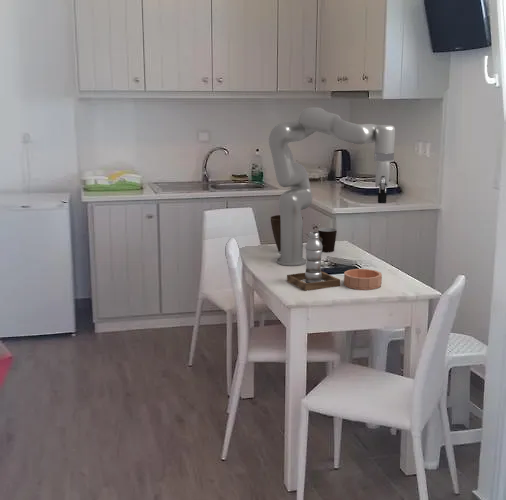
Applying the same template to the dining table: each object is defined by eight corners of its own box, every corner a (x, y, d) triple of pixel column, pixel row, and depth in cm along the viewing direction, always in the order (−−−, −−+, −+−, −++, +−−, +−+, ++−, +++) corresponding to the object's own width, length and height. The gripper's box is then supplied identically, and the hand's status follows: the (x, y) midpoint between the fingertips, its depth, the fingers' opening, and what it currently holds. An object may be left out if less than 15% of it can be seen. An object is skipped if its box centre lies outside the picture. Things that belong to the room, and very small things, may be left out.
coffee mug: (337, 252, 321) (337, 231, 318) (318, 252, 321) (318, 231, 318) (334, 247, 332) (335, 226, 330) (316, 247, 332) (316, 226, 330)
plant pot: (265, 249, 328) (265, 215, 325) (294, 246, 334) (294, 213, 330) (278, 256, 315) (278, 221, 311) (308, 253, 320) (308, 218, 316)
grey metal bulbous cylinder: (303, 281, 274) (303, 231, 269) (320, 281, 274) (321, 231, 270) (305, 286, 267) (306, 234, 263) (323, 285, 268) (324, 234, 263)
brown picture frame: (287, 281, 274) (287, 274, 274) (320, 276, 281) (320, 270, 280) (305, 290, 261) (305, 284, 261) (340, 285, 267) (340, 279, 267)
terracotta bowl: (337, 282, 272) (337, 271, 271) (367, 278, 278) (367, 267, 277) (357, 291, 259) (357, 280, 258) (388, 287, 265) (388, 275, 264)
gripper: (374, 155, 280) (372, 197, 284) (373, 159, 264) (372, 204, 268) (393, 155, 279) (391, 197, 283) (394, 159, 262) (392, 205, 266)
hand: (381, 201), depth 275 cm, fingers open, 9 cm apart
